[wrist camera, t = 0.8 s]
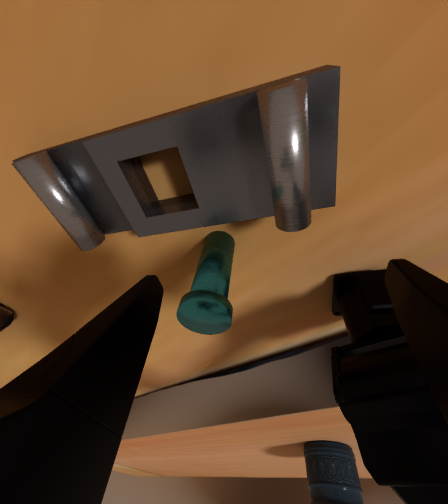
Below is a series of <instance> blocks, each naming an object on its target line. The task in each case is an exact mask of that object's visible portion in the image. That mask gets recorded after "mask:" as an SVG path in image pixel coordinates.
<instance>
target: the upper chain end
mask: <svg viewBox="0 0 448 504" xmlns="http://www.w3.org/2000/svg"><path fill="white" fill-rule="evenodd" d="M339 89H340V66H333V65H325V66H321V67H318V68H315V69H311V70H308V71H305V72H301V73H298V74H295V75H291V76H288V77H285V78H281V79H278V80H275V81H271V82H268V83H265V84H261V85H258V86H255V87H251V88H248V89H245V90H241V91H238V92H234V93H231V94H228V95H224V96H221V97H218V98H214V99H211V100H208V101H204V102H202V103H201V104H199V105H198V106H195V107H191V108H188V109H185V110H181V111H178V112H175V113H171V114H168V115H164V116H161V117H158V118H154V119H151V120H148V121H144V122H141V123H137V124H134V125H131V126H127V127H124V128H121V129H117V130H114V131H111V132H107V133H104V134H100V135H97V136H94V137H92V138H90V139H88V140H86V141H83V142H82V143H83V144H84V146H85V148H86V149H87V151H88V153H89V155H90V156H91V158H92V160H93V161H94V163H95V165H96V166H97V168H98V170H99V172H100V173H101V175H102V177H103V178H104V180H105V182H106V183H107V185H108V187H109V189H110V190H111V192H112V194H113V195H114V197H115V199H116V201H117V202H118V204H119V206H120V207H121V209H122V211H123V212H124V214H125V216H126V218H127V219H128V221H129V223H130V224H131V226H132V228H133V229H134V231H135V233H136V235H137V236H138V237H143V236H150V235H156V234H162V233H169V232H175V231H181V230H187V229H194V228H200V227H206V226H213V225H219V224H225V223H232V222H238V221H244V220H251V219H257V218H263V217H270V216H275V223H276V227H277V228H278V229H280V230H282V231H286V232H296V231H300V230H303V229H305V228H307V227H308V226H309V225H310V224H311V210H314V209H320V208H327V207H333V206H335V196H336V170H337V143H338V116H339ZM176 146H177V148H178V150H179V153H180V156H181V159H182V162H183V164H184V167H185V170H186V173H187V175H188V178H189V181H190V184H191V187H192V189H193V192H194V195H195V198H196V201H191V202H185V203H180V204H175V205H169V206H164V207H159V208H154V209H153V208H152V206H151V204H150V202H149V200H148V198H147V196H146V194H145V192H144V190H143V188H142V186H141V184H140V182H139V180H138V178H137V176H136V174H135V172H134V170H133V167H132V165H131V163H130V161H129V158H133V157H137V156H141V155H145V154H149V153H153V152H157V151H161V150H164V149H168V148H172V147H176Z"/></svg>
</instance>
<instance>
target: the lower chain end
mask: <svg viewBox="0 0 448 504" xmlns="http://www.w3.org/2000/svg"><path fill="white" fill-rule="evenodd" d="M201 103H202V102H201ZM201 103H198V104H194V105H191V106H188V107H184V108H181V109H178V110H174V111H171V112H168V113H164V114H161V115H158V116H154V117H151V118H148V119H144V120H141V121H137V122H134V123H131V124H127V125H124V126H121V127H117V128H114V129H111V130H107V131H104V132H101V133H97V134H94V135H91V136H87V137H84V138H81V139H77V140H74V141H71V142H67V143H64V144H61V145H57V146H54V147H50V148H47V149H44V150H40V151H37V152H34V153H30V154H27V155H25V156H22V157H20V158H17V159H15V160H13V163H12V165H13V166H14V168H15V169H16V170H17V171H18V172H19V174H20V175H21V176H22V177H23V179H24V180H25V181H26V182H27V184H28V185H29V186H30V187H31V189H32V190H33V191H34V192H35V194H36V195H37V196H38V197H39V199H40V200H41V201H42V202H43V204H44V205H45V206H46V207H47V209H48V210H49V211H50V212H51V214H52V215H53V216H54V217H55V219H56V220H57V221H58V222H59V224H60V225H61V226H62V227H63V229H64V230H65V231H66V232H67V234H68V235H69V236H70V237H71V239H72V240H73V241H74V242H75V244H76V245H77V246H78V247H79V249H80V250H81V251H87V250H91V249H93V248H95V247H97V246H98V245H100V244H101V243H102V242H103V241H104V240H105V234H111V233H116V232H122V231H128V230H134V229H133V228H132V226H131V224H130V223H129V221H128V219H127V218H126V216H125V214H124V212H123V211H122V209H121V207H120V206H119V204H118V202H117V201H116V199H115V197H114V195H113V194H112V192H111V190H110V189H109V187H108V185H107V183H106V182H105V180H104V178H103V177H102V175H101V173H100V172H99V170H98V168H97V166H96V165H95V163H94V161H93V160H92V158H91V156H90V155H89V153H88V151H87V149H86V148H85V146H84V144H83V143H82V142H83V141H86V140H88V139H90V138H92V137H94V136H97V135H100V134H104V133H107V132H111V131H114V130H117V129H121V128H124V127H127V126H131V125H134V124H137V123H141V122H144V121H148V120H151V119H154V118H158V117H161V116H164V115H168V114H171V113H175V112H178V111H181V110H185V109H188V108H191V107H195V106H198V105H199V104H201ZM129 161H130V163H131V165H132V167H133V170H134V172H135V174H136V176H137V178H138V180H139V182H140V184H141V186H142V188H143V190H144V192H145V194H146V196H147V198H148V200H149V202H150V204H151V206H152V208H153V209H154V208H159V207H164V206H169V205H175V204H180V203H185V202H191V201H196V198H195V195H194V194H189V195H184V196H179V197H174V198H169V199H164V200H158V198H157V196H156V194H155V192H154V190H153V188H152V185H151V183H150V181H149V179H148V177H147V175H146V173H145V170H144V168H143V166H142V164H141V162H140V160H139V158H138V156H137V157H133V158H129Z"/></svg>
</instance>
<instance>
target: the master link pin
mask: <svg viewBox="0 0 448 504" xmlns="http://www.w3.org/2000/svg"><path fill="white" fill-rule="evenodd" d="M234 246H235V242H234V239H233V238H232V236H231V235H229V234H228V233H226V232H223V231H214V232H212V233H210V234H209V235H208V236H207V237H206V240H205V243H204V247H203V250H202V253H201V257H200V260H199V264H198V267H197V270H196V274H195V277H194V280H193V284H192V287H191V291H190V292H188V293H187V294H185V295H184V296H183V297H182V298H181V301H180V304H179V307H178V310H177V319H178V321H179V322H180V323H181V324H182V325H183V326H184V327H186V328H187V329H189V330H191V331H194V332H196V333H200V334H208V335H212V334H219V333H222V332H225V331H226V330H228V329H229V328H230V326H231V323H232V313H233V308H232V305H231V303H230V302H229V301H228V300H227V299H228V292H229V284H230V277H231V269H232V262H233V254H234Z"/></svg>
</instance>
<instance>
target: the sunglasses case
mask: <svg viewBox="0 0 448 504" xmlns="http://www.w3.org/2000/svg"><path fill="white" fill-rule="evenodd" d="M13 320H14V316H13V312H12V311H11V310H10V309H7V308H5V307H3V306H1V305H0V332H1V331H2V330H4V329H5V328H6V327H8V326H9V325H10V324H11V323H12V321H13Z"/></svg>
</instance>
